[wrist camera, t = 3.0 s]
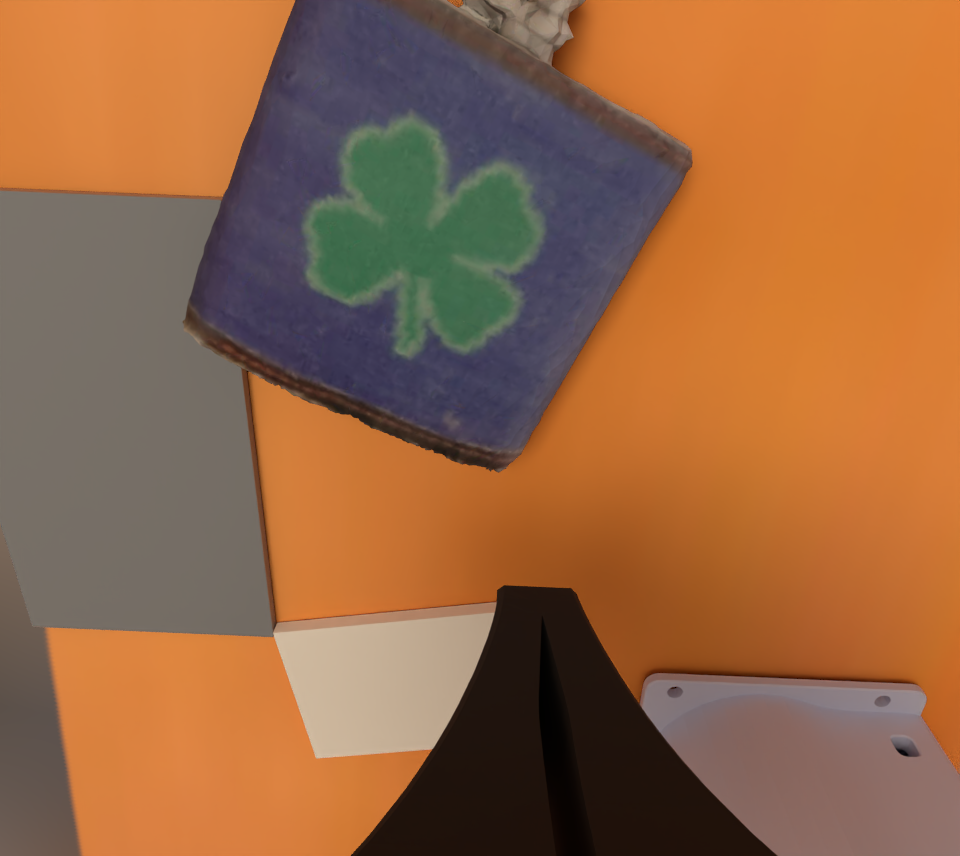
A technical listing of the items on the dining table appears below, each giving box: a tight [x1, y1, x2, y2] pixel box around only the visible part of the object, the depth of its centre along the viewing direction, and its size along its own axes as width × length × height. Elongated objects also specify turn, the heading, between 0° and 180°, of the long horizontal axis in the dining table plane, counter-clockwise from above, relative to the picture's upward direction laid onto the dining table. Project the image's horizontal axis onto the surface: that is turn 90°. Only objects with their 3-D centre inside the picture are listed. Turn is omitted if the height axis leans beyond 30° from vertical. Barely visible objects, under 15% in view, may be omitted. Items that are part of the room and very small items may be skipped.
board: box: [0, 188, 276, 637], centre depth 21 cm, size 8×14×1 cm, turn 178°
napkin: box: [273, 602, 497, 758], centre depth 25 cm, size 8×6×1 cm
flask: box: [182, 0, 692, 473], centre depth 17 cm, size 9×3×11 cm
